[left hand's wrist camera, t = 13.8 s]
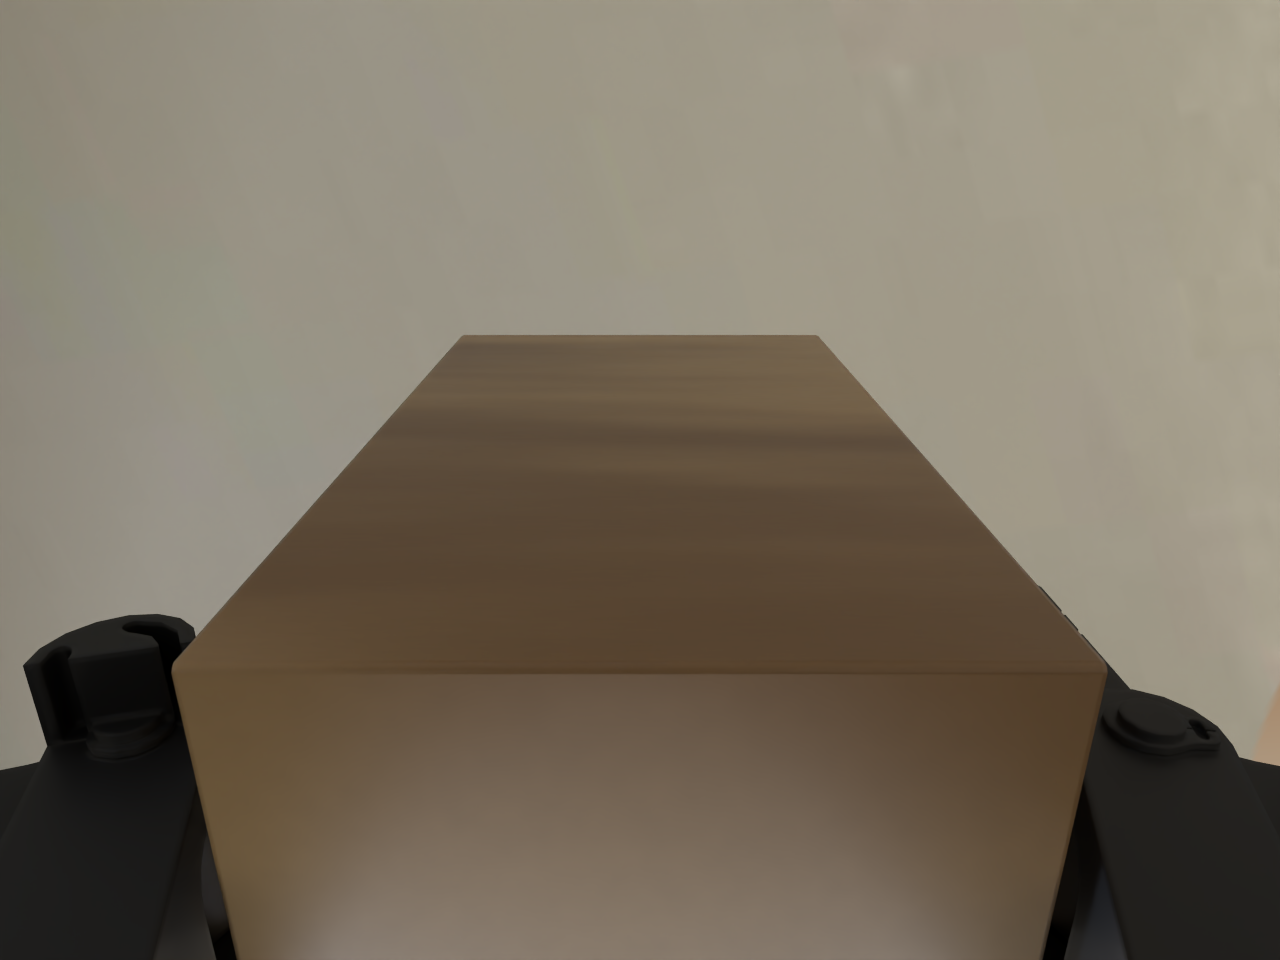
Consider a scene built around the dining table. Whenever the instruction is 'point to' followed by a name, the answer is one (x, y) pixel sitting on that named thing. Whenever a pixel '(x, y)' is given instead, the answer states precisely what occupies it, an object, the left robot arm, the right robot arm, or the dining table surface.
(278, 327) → the dining table surface
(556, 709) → the bar
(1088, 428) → the dining table surface
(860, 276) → the dining table surface
